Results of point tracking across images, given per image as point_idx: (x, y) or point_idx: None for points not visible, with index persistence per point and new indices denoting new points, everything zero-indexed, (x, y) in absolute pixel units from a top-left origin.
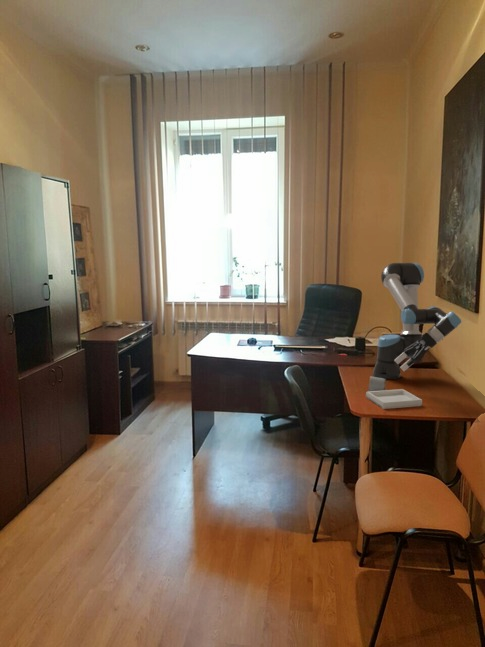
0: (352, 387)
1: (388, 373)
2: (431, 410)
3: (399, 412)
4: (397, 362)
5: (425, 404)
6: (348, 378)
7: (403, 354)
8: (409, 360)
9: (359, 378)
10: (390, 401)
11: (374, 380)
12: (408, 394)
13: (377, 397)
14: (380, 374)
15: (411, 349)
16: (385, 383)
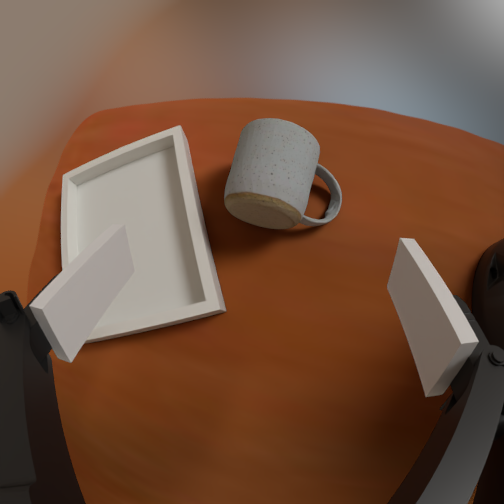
0: (318, 113)
1: (491, 294)
2: (53, 357)
3: (46, 233)
4: (394, 278)
5: (104, 369)
6: (435, 130)
7: (441, 336)
8: (47, 296)
9: (452, 170)
10: (66, 200)
11: (245, 140)
12: (149, 316)
13: (108, 159)
14: (489, 258)
15: (419, 484)
16: (230, 201)
